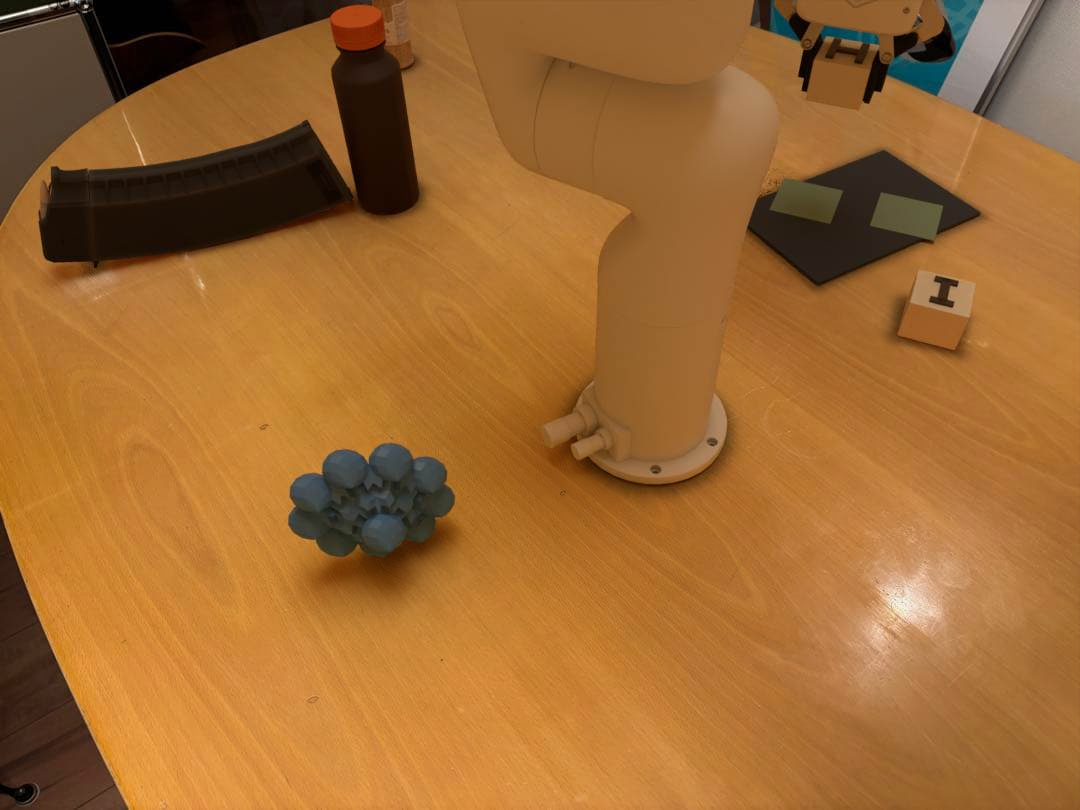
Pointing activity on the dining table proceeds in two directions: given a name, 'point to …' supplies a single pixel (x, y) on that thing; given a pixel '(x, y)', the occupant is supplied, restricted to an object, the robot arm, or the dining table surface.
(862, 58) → the tile
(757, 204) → the mat
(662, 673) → the dining table surface
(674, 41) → the robot arm
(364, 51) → the vinegar
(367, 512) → the grapes
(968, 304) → the tile
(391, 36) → the sprinkles bottle
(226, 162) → the magazine
